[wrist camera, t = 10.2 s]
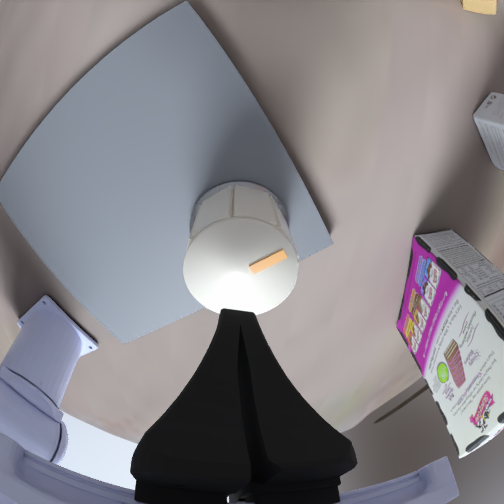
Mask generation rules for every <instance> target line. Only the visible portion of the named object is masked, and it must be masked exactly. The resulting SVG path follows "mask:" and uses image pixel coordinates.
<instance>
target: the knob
mask: <svg viewBox="0 0 504 504" xmlns="http://www.w3.org/2000/svg"><path fill="white" fill-rule="evenodd" d="M298 258H299V256H298V253H297V250H296V247H295V244H294V242H293V239H292V236H291V233H290V230H289V228H288V225H287V222H286V220H285V218H284V217H283V215H282V213H281V211H280V209H279V208H278V206H277V204H276V202H275V201H274V199H273V197H272V195H271V196H269V195H268V193H267V192H264V191H260V190H256V189H252V188H248V187H244V186H239V185H235V188H234V190H233V188H232V187H231V185H230V186H228V187H227V188H225V189H223V190H221V191H220V192H218V193H216V194H214V195H213V196H211V197H209V198H208V199H206V200H204V201H203V202H202V205H200V206H199V209H198V212H197V215H196V218H195V221H194V224H193V227H192V230H191V233H190V236H189V240H188V245H187V251H186V255H185V259H184V264H183V275H184V280H185V283H186V285H187V288H188V289H189V291H190V293H191V294H192V295H193V297H194V298H195V299H196V300H197V301H198V302H199V303H201V304H202V305H203V306H205V307H206V308H208V309H210V310H212V311H214V312H217V313H220V310H221V309H223V308H227V309H234V310H241V311H249V312H254V314H255V315H258V314H261V313H264V312H266V311H269V310H271V309H273V308H274V307H276V306H277V305H279V304H280V303H281V302H283V301H284V300H285V299H286V298H287V296H288V295H289V294H290V293H291V291H292V289H293V288H294V286H295V283H296V280H297V276H298V265H299V260H298Z"/></svg>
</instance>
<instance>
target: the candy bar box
mask: <svg viewBox="0 0 504 504" xmlns="http://www.w3.org/2000/svg"><path fill="white" fill-rule="evenodd" d="M396 328H397V329H398V331H399V332H400V334H401V336H402V338H403V340H404V341H405V343H406V345H407V347H408V349H409V351H410V352H411V354H412V356H413V358H414V360H415V361H416V363H417V365H418V367H419V369H420V371H421V373H422V375H423V377H424V379H425V381H426V383H427V385H428V387H429V388H430V391H431V393H432V395H433V397H434V400H435V401H436V404H437V406H438V408H439V410H440V412H441V415H442V417H443V419H444V421H445V423H446V426H447V428H448V431H449V433H450V435H451V438H452V440H453V442H454V445H455V447H456V450H457V452H458V455H459V458H461V457H464V456H465V455H468V454H469V453H471V452H473V451H474V450H476V449H477V448H479V447H481V446H482V445H484V444H485V443H486V442H488V441H490V440H491V439H492V438H493V437H495V436H496V435H497V434H498V433H499V432H501V431H502V430H503V429H504V274H503V273H502V272H501V271H500V270H499V269H498V268H497V267H495V266H494V265H493V264H492V263H491V262H490V261H489V260H488V259H486V258H485V257H484V256H483V255H482V254H481V253H480V252H479V251H477V250H476V249H475V248H474V247H473V246H472V245H471V244H469V243H468V242H467V241H466V240H465V239H463V238H462V237H461V236H460V235H458V234H457V233H456V232H455V231H453V230H452V229H448V230H441V231H438V232H433V233H426V234H420V235H415V236H414V237H413V241H412V249H411V256H410V263H409V269H408V275H407V281H406V287H405V292H404V297H403V302H402V306H401V310H400V314H399V319H398V322H397V326H396Z"/></svg>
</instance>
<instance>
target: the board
mask: <svg viewBox="0 0 504 504" xmlns="http://www.w3.org/2000/svg"><path fill="white" fill-rule="evenodd" d="M231 180H248V181H253V182H256V183H259V184H261V185H263V186H265V187H267V188H268V189H270V190H271V191H272V192H274V193H275V194H276V195H277V197H278V198H279V199H280V200H281V202H282V203H283V205H284V207H285V210H286V212H287V215H288V220H289V230H290V233H291V236H292V239H293V242H294V244H295V247H296V250H297V253H298V256H299V258H298V260H299V261H301V260H303V259H305V258H307V257H309V256H311V255H313V254H315V253H317V252H319V251H321V250H322V249H324V248H326V247H328V246H330V245H332V244H333V241H332V239H331V237H330V235H329V233H328V231H327V229H326V227H325V225H324V223H323V220H322V218H321V216H320V214H319V212H318V210H317V208H316V206H315V204H314V202H313V200H312V198H311V196H310V194H309V192H308V190H307V189H306V187H305V185H304V183H303V181H302V179H301V177H300V175H299V173H298V171H297V170H296V168H295V166H294V164H293V162H292V160H291V159H290V157H289V155H288V153H287V151H286V150H285V148H284V146H283V144H282V142H281V141H280V139H279V137H278V135H277V134H276V132H275V130H274V129H273V127H272V125H271V123H270V122H269V120H268V118H267V117H266V115H265V113H264V112H263V110H262V108H261V107H260V105H259V103H258V102H257V100H256V99H255V97H254V95H253V94H252V92H251V91H250V89H249V88H248V86H247V84H246V83H245V81H244V80H243V78H242V77H241V75H240V74H239V72H238V71H237V69H236V68H235V66H234V65H233V63H232V62H231V60H230V59H229V57H228V56H227V54H226V53H225V51H224V50H223V49H222V47H221V46H220V44H219V43H218V41H217V40H216V39H215V37H214V36H213V34H212V33H211V32H210V30H209V29H208V28H207V26H206V25H205V24H204V22H203V21H202V20H201V18H200V17H199V16H198V14H197V13H196V12H195V10H194V9H193V8H192V6H191V5H190V4H189V3H188V1H187V0H186V1H184V2H183V3H181V4H179V5H177V6H176V7H174V8H172V9H171V10H169V11H167V12H166V13H164V14H162V15H161V16H159V17H158V18H156V19H155V20H153V21H152V22H150V23H149V24H147V25H146V26H144V27H143V28H141V29H140V30H139V31H137V32H136V33H135V34H133V35H132V36H130V37H129V38H128V39H126V40H125V41H124V42H123V43H121V44H120V45H119V46H118V47H116V48H115V49H114V50H113V51H111V52H110V53H109V54H108V55H107V56H105V57H104V58H103V59H102V60H101V61H100V62H99V63H97V64H96V65H95V66H94V67H93V68H92V69H91V70H90V71H89V72H88V73H87V74H85V75H84V76H83V77H82V78H81V79H80V80H79V81H78V82H77V83H76V84H75V85H74V86H73V87H72V88H71V89H70V90H69V91H68V92H67V94H66V95H65V96H64V97H63V98H62V99H61V100H60V101H59V102H58V103H57V104H56V106H55V107H54V108H53V109H52V110H51V111H50V113H49V114H48V115H47V116H46V117H45V118H44V120H43V121H42V122H41V123H40V125H39V126H38V127H37V128H36V130H35V131H34V132H33V134H32V135H31V136H30V138H29V139H28V140H27V142H26V143H25V144H24V146H23V147H22V149H21V150H20V152H19V153H18V154H17V156H16V157H15V159H14V160H13V162H12V163H11V165H10V167H9V168H8V170H7V171H6V173H5V175H4V176H3V178H2V180H1V181H0V203H1V205H2V206H3V208H4V209H5V211H6V212H7V214H8V215H9V217H10V218H11V220H12V221H13V223H14V224H15V226H16V227H17V228H18V230H19V231H20V233H21V234H22V235H23V237H24V238H25V239H26V241H27V242H28V243H29V245H30V246H31V247H32V249H33V250H34V251H35V252H36V254H37V255H38V256H39V257H40V259H41V260H42V261H43V262H44V264H45V265H46V266H47V267H48V268H49V270H50V271H51V272H52V273H53V274H54V275H55V277H56V278H57V279H58V280H59V281H60V282H61V283H62V284H63V286H64V287H65V288H66V289H67V290H68V291H69V292H70V293H71V294H72V295H73V296H74V297H75V298H76V299H77V301H78V302H79V303H80V304H81V305H82V306H83V307H84V308H85V309H86V310H87V311H88V312H89V313H90V314H91V315H92V316H93V317H94V318H95V319H96V320H98V321H99V322H100V323H101V324H102V325H103V326H104V327H105V328H106V329H107V330H108V331H109V332H110V333H111V334H113V335H114V336H115V337H116V338H117V339H118V340H119V341H120V342H122V343H123V344H125V343H128V342H130V341H132V340H134V339H137V338H139V337H141V336H143V335H146V334H148V333H150V332H152V331H155V330H157V329H159V328H161V327H163V326H166V325H168V324H170V323H172V322H174V321H177V320H179V319H181V318H183V317H185V316H187V315H190V314H192V313H194V312H196V311H198V310H200V309H202V308H205V306H203V305H202V304H201V303H199V302H198V301H197V300H196V299H195V298H194V297H193V295H192V294H191V293H190V291H189V289H188V288H187V285H186V283H185V280H184V275H183V264H184V259H185V255H186V251H187V245H188V240H189V236H190V219H191V215H192V212H193V209H194V207H195V205H196V203H197V202H198V200H199V199H200V198H201V196H202V195H203V194H204V193H205V192H207V191H208V190H209V189H211V188H212V187H214V186H216V185H218V184H220V183H223V182H226V181H231Z"/></svg>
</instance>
